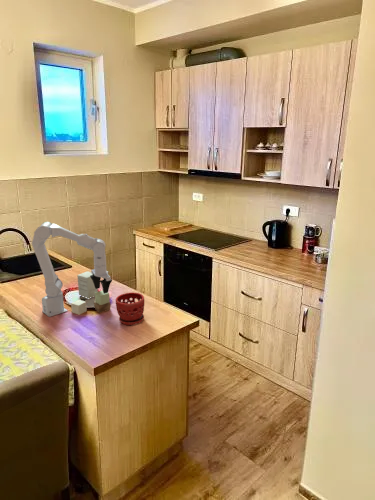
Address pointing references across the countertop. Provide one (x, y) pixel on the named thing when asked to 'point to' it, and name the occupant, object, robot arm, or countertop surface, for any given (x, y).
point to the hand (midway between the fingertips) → (101, 290)
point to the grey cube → (78, 307)
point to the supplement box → (86, 285)
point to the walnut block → (101, 307)
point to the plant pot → (130, 308)
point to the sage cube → (101, 297)
